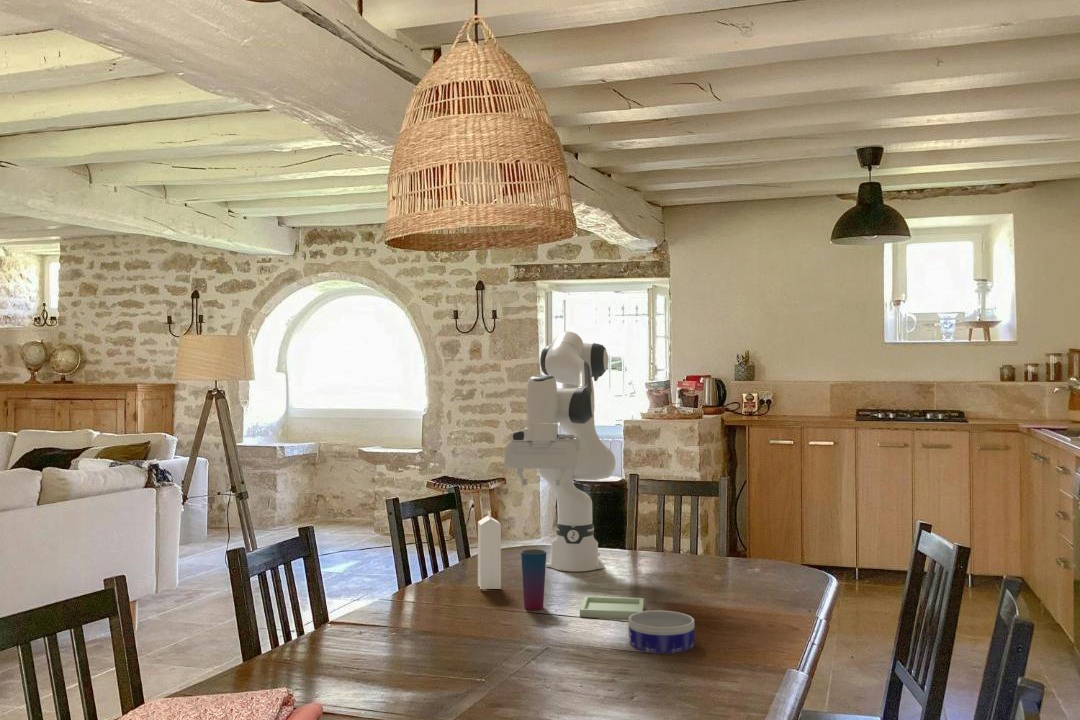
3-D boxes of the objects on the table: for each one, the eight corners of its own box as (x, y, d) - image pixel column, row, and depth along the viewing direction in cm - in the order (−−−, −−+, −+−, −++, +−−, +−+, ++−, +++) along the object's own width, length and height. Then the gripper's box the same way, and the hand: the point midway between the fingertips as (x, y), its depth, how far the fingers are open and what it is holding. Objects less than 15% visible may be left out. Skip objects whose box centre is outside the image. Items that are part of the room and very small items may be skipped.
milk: (480, 590, 265) (480, 514, 265) (477, 585, 271) (477, 510, 271) (501, 589, 266) (500, 513, 266) (498, 584, 272) (497, 509, 272)
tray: (584, 602, 251) (584, 596, 251) (643, 604, 249) (643, 598, 249) (579, 616, 237) (579, 609, 237) (642, 619, 235) (642, 611, 235)
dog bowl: (617, 638, 219) (617, 613, 219) (674, 631, 225) (674, 607, 225) (647, 657, 205) (646, 630, 205) (707, 650, 210) (707, 623, 210)
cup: (543, 611, 242) (543, 554, 242) (518, 610, 244) (518, 553, 244) (548, 605, 249) (548, 549, 249) (524, 603, 250) (524, 548, 250)
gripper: (580, 434, 252) (580, 485, 252) (507, 434, 255) (506, 484, 254) (578, 434, 246) (578, 486, 245) (503, 434, 249) (502, 486, 248)
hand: (541, 485), depth 250 cm, fingers open, 8 cm apart
